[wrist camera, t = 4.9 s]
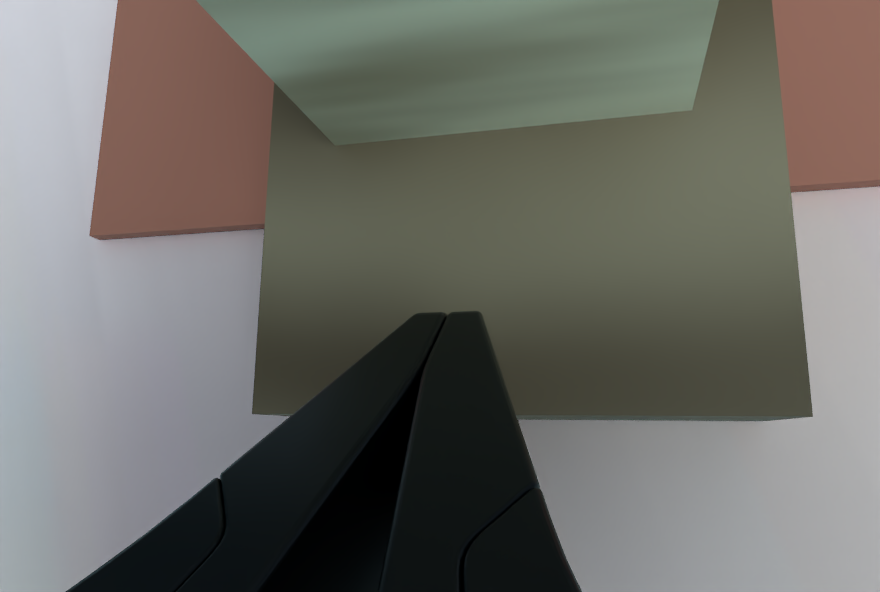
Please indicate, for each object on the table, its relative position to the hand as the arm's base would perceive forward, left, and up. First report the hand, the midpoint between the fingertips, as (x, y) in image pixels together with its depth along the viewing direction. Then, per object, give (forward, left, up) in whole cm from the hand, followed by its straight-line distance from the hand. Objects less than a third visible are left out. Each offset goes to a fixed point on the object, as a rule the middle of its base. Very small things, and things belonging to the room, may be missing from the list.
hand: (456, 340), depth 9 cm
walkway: (+7, +7, -7) cm, 13 cm away
